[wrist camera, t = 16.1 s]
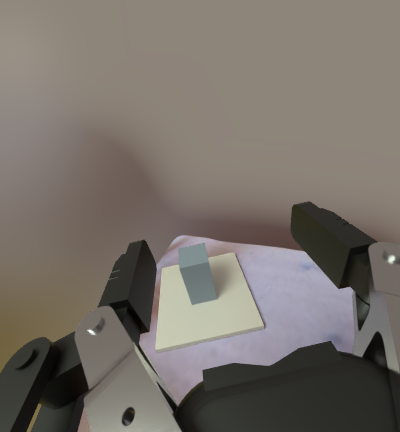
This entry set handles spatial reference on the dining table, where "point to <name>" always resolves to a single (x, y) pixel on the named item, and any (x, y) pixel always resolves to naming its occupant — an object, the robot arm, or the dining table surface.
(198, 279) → the slate block
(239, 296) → the cream tile
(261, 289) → the dining table surface
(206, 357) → the dining table surface
